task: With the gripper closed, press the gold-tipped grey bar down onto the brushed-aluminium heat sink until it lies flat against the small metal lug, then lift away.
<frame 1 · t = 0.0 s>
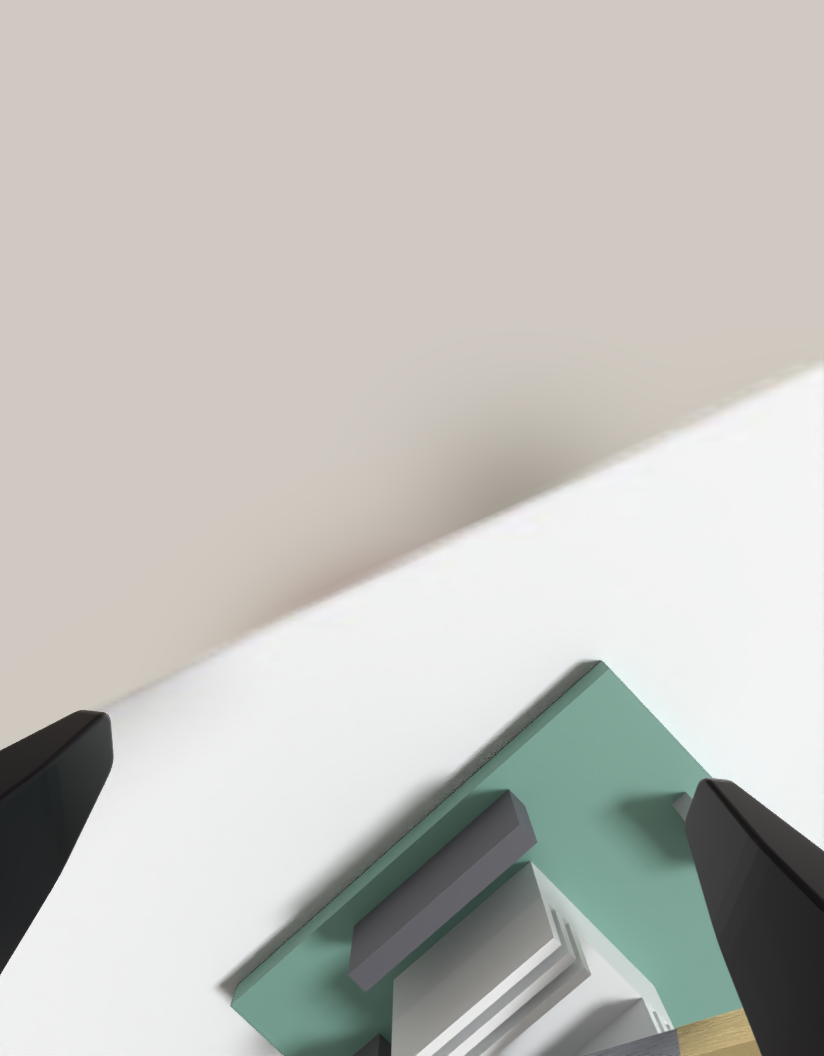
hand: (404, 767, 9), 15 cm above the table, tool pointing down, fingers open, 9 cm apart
board: (536, 949, 26), on the table
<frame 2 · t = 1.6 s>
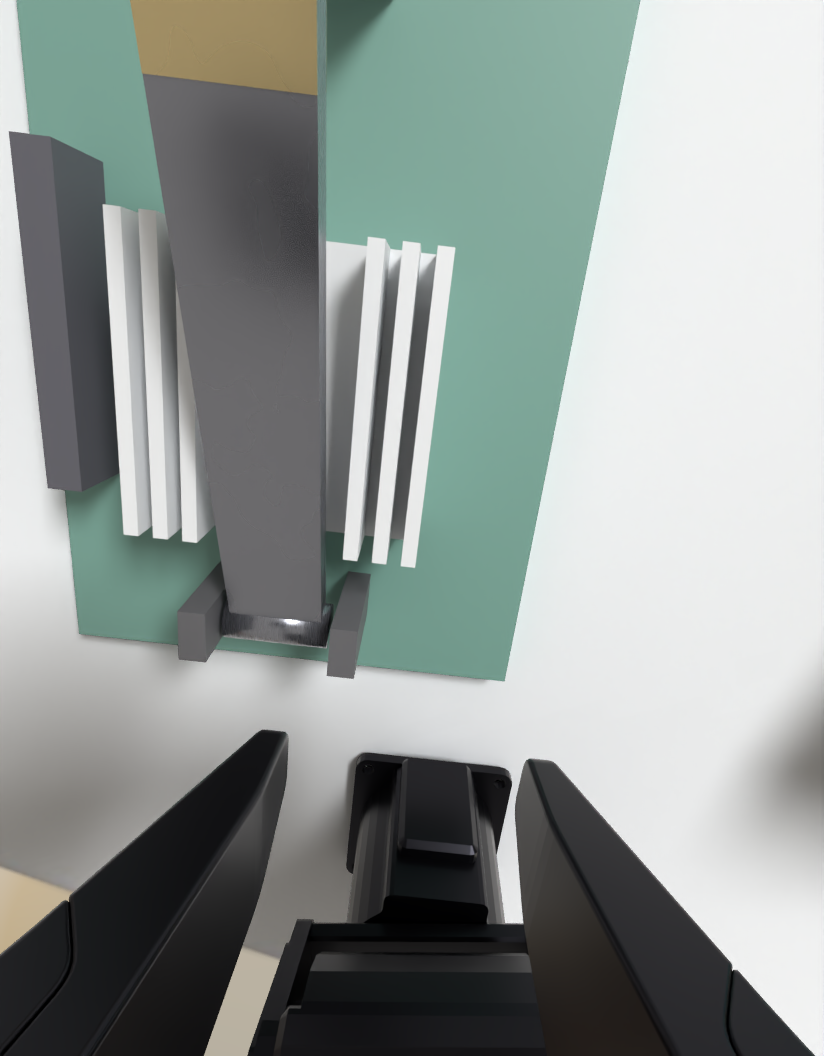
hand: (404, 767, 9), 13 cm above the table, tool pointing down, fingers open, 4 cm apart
gold-tipped grey bar: (261, 392, 13), point 6 cm above the table, hinge at 20.0°
board: (313, 351, 19), on the table
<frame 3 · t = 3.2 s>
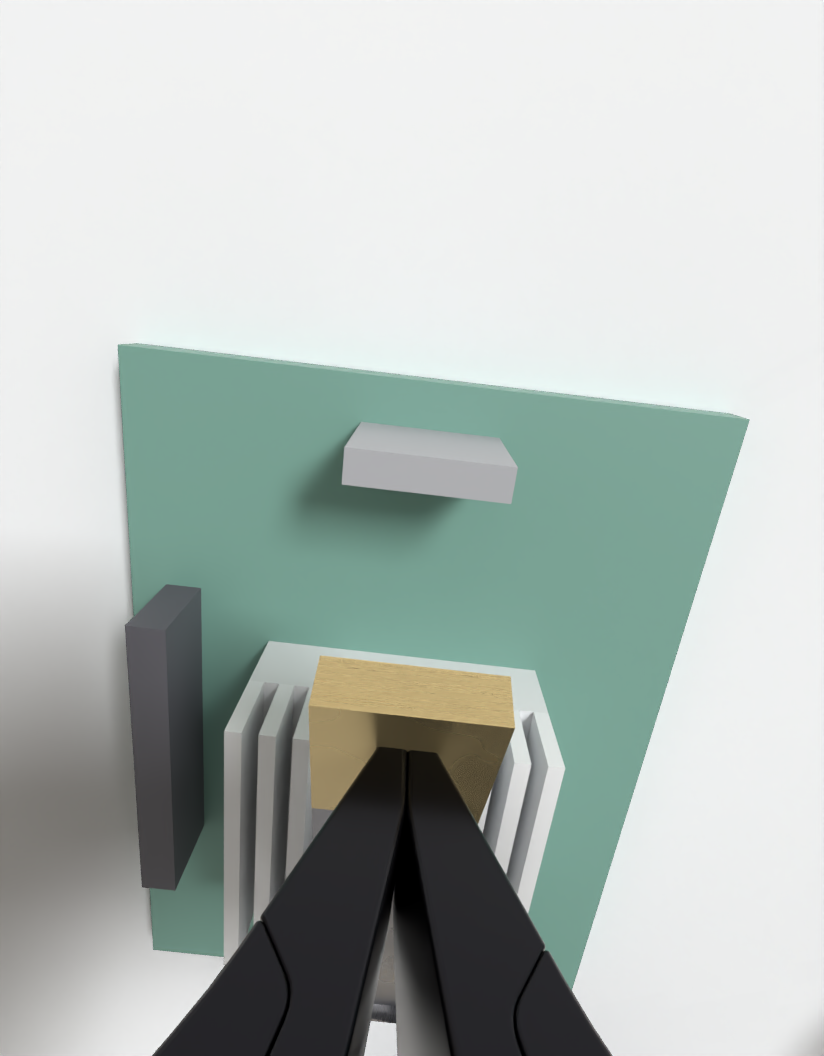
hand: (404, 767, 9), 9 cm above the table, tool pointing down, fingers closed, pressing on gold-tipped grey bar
gold-tipped grey bar: (377, 905, 13), point 6 cm above the table, hinge at 19.5°, touching gripper
board: (394, 716, 19), on the table
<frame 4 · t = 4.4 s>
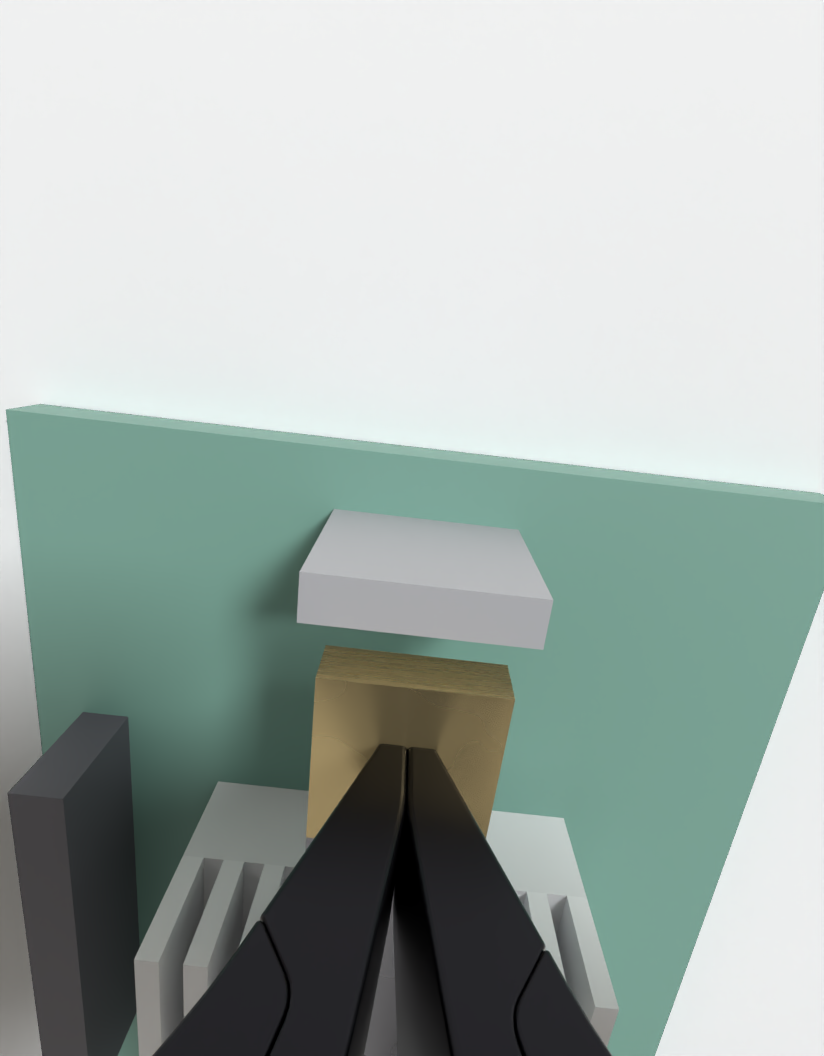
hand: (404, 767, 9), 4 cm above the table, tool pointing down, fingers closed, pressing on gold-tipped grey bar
gold-tipped grey bar: (367, 1034, 11), point 4 cm above the table, hinge at 2.8°, touching gripper
board: (382, 862, 15), on the table
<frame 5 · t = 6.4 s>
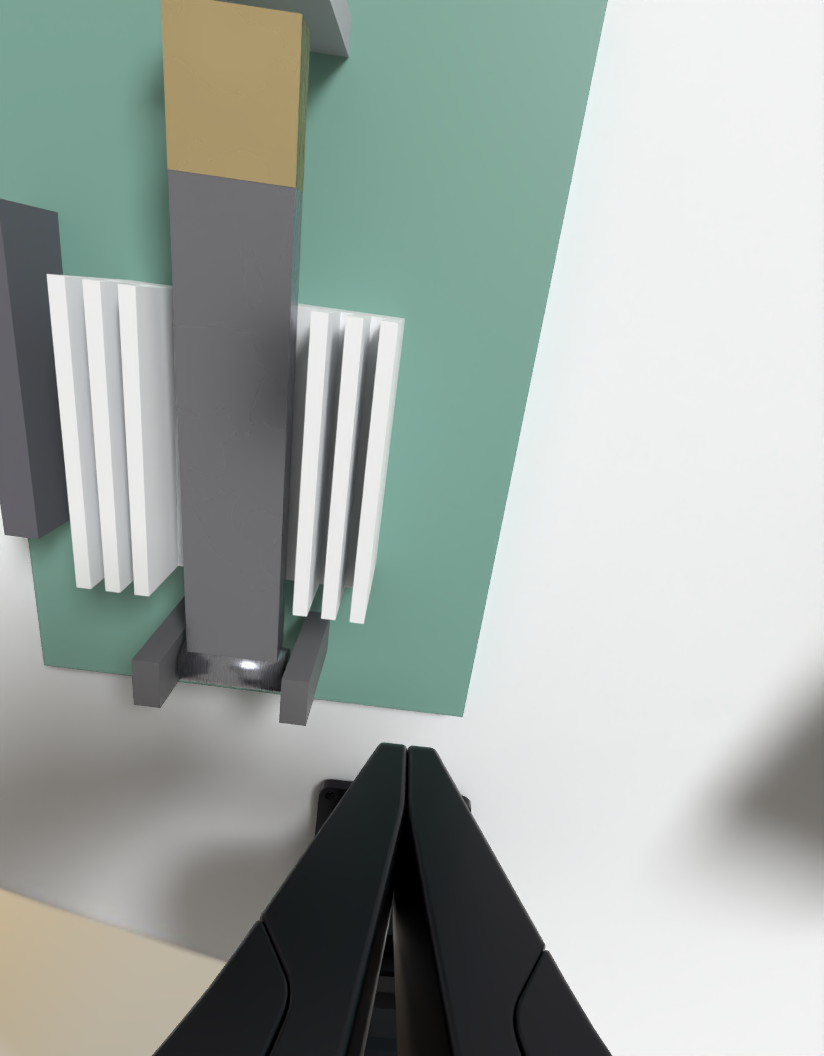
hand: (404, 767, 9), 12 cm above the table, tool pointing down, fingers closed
gold-tipped grey bar: (236, 424, 15), point 4 cm above the table, hinge at 2.7°
board: (273, 397, 19), on the table
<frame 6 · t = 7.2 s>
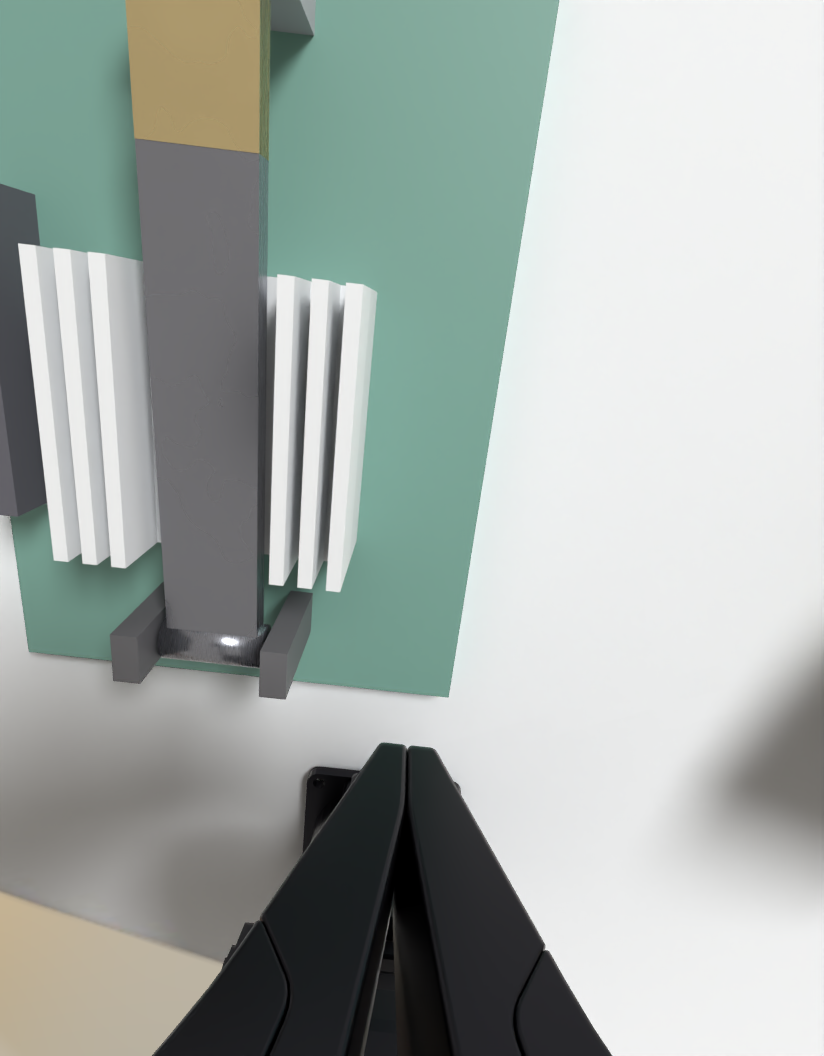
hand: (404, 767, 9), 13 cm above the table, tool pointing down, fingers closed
gold-tipped grey bar: (210, 393, 15), point 4 cm above the table, hinge at 2.7°
board: (251, 376, 19), on the table
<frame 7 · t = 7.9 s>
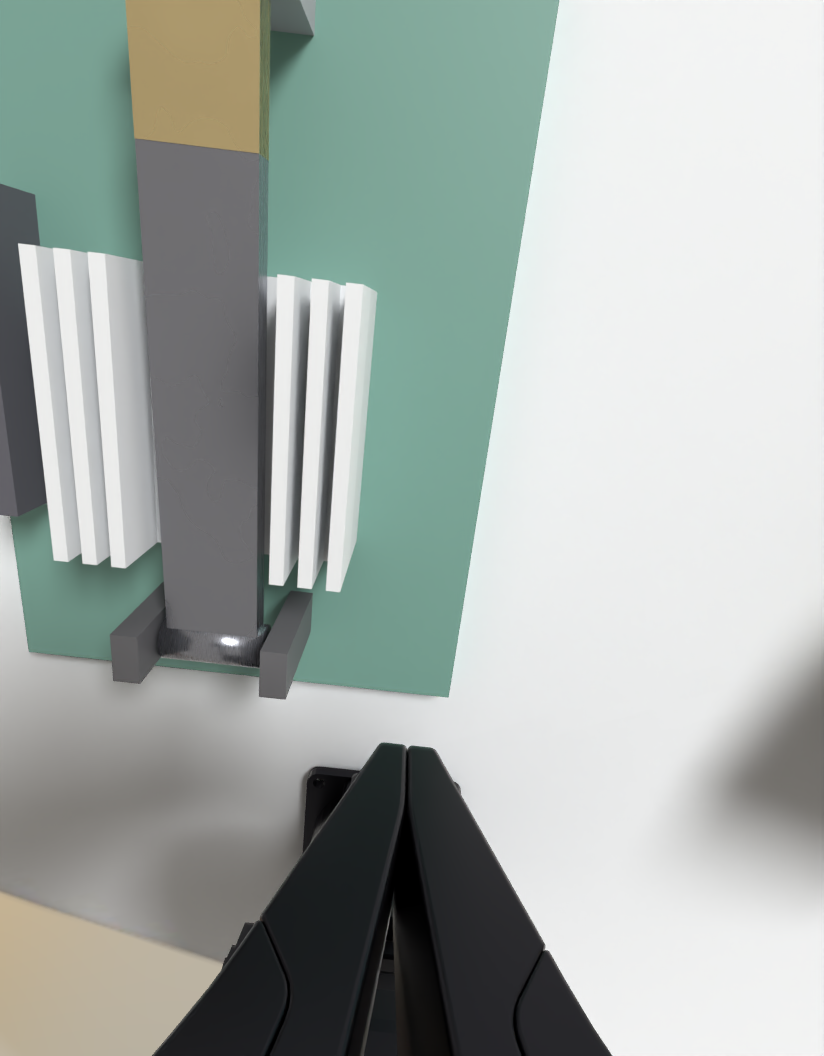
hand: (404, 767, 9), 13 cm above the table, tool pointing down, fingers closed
gold-tipped grey bar: (210, 393, 15), point 4 cm above the table, hinge at 2.7°
board: (251, 376, 19), on the table
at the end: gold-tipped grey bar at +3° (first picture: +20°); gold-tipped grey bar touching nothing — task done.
